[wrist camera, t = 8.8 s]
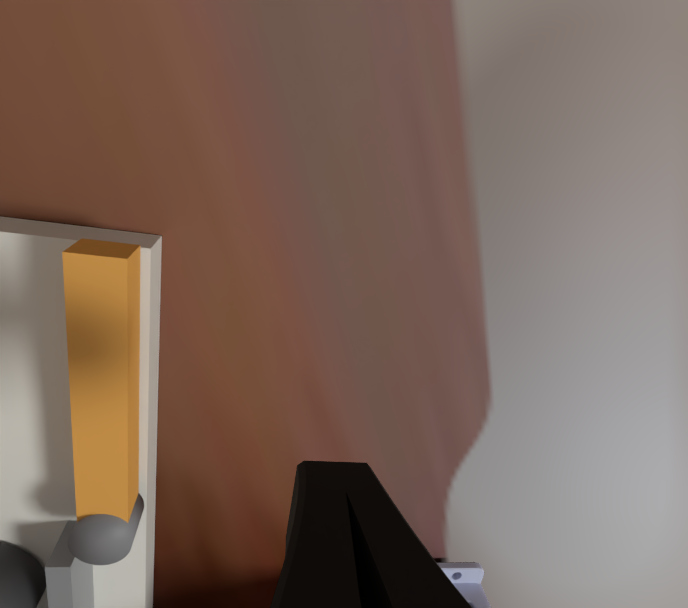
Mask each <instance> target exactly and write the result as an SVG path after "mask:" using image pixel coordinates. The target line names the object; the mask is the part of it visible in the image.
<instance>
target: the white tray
mask: <svg viewBox="0 0 688 608" xmlns="http://www.w3.org/2000/svg"><path fill="white" fill-rule="evenodd" d="M82 238H83V239H92V240H101V241H110V242H118V243H127V244H136V245H140V375H139V494H140V495H141V496H142V498H143V501H144V509H143V513H142V516H141V519H140V522H139V525H138V528H137V531H136V535H135V538H134V541H133V544H132V547H131V550H130V552H129V553H128V555H127V556H126V557H125V558H123V559H122V560H120V561H118V562H116V563H113V564H109V565H92V564H88V563H85V562H82V561H80V560H79V559H77V558H76V557H75V556H73V555H72V553H71V552H70V550H69V548H68V538H69V535H70V533H71V531H72V529H73V527H74V525H75V523H76V520H77V516H76V498H75V479H74V461H73V442H72V424H71V405H70V387H69V368H68V350H67V331H66V313H65V294H64V276H63V258H62V252H63V251H64V250H66V249H67V248H69V247H70V246H71V245H73V244H74V243H76V242H77V241H79V240H80V239H82ZM161 249H162V236H161V235H153V234H144V233H136V232H127V231H119V230H111V229H102V228H94V227H85V226H77V225H69V224H60V223H52V222H43V221H35V220H27V219H18V218H10V217H1V216H0V542H1V543H6V544H9V545H12V546H15V547H17V548H20V549H22V550H24V551H25V552H27V553H29V554H30V555H31V556H33V557H34V558H35V559H36V560H37V561H38V562H39V563H40V564H41V566H42V567H43V569H44V571H45V575H46V589H45V591H44V593H43V595H42V597H41V599H40V601H39V603H38V605H37V607H36V608H153V579H154V538H155V497H156V456H157V414H158V373H159V332H160V290H161Z"/></svg>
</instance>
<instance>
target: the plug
mask: <svg viewBox="0 0 688 608" xmlns="http://www.w3.org/2000/svg"><path fill="white" fill-rule="evenodd" d="M45 589H46V575H45V571H44V569H43V567H42V566H41V564H40V563H39V562H38V561H37V560H36V559H35V558H34V557H33V556H31V555H30V554H29V553H27V552H25V551H24V550H22V549H20V548H17V547H15V546H12V545H9V544H6V543H1V542H0V608H36V607H37V605H38V603H39V601H40V599H41V597H42V595H43V593H44V591H45Z"/></svg>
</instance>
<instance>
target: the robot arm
mask: <svg viewBox="0 0 688 608" xmlns="http://www.w3.org/2000/svg"><path fill="white" fill-rule="evenodd" d="M483 576H484V571H483V569H482V566H481V565H480V564H479V563H475V562H473V563H436V561H435V560H434V559H433V557H432V556H431V555H430V553H429V552H428V551H427V549H426V548H425V546H424V545H423V544H422V542H421V541H420V540H419V538H418V537H417V536H416V534H415V533H414V531H413V530H412V529H411V527H410V526H409V524H408V523H407V522H406V520H405V519H404V517H403V516H402V514H401V513H400V511H399V510H398V508H397V507H396V506H395V504H394V503H393V501H392V500H391V498H390V497H389V495H388V494H387V492H386V491H385V489H384V487H383V486H382V484H381V483H380V481H379V480H378V478H377V477H376V475H375V474H374V472H373V471H372V469H371V468H370V466H369V465H368V464H367V463H354V462H325V461H303V462H302V463H300V464H299V465H297V471H296V477H295V483H294V490H293V496H292V502H291V509H290V515H289V521H288V528H287V534H286V553H285V560H284V564H283V567H282V571H281V574H280V577H279V580H278V584H277V587H276V590H275V593H274V597H273V600H272V603H271V606H270V608H491V606H490V604H489V602H488V599H487V597H486V595H485V592H484V590H483V588H482V586H481V581H482V579H483Z"/></svg>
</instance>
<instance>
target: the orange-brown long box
mask: <svg viewBox="0 0 688 608" xmlns="http://www.w3.org/2000/svg"><path fill="white" fill-rule="evenodd" d="M62 258H63V276H64V294H65V313H66V331H67V350H68V368H69V387H70V405H71V424H72V442H73V461H74V479H75V498H76V516H77V520H76V523H75V525H74V527H73V529H72V531H71V533H70V535H69V538H68V548H69V550H70V552H71V553H72V555H73V556H75V557H76V558H77V559H79V560H80V561H82V562H85V563H88V564H92V565H109V564H113V563H116V562H118V561H120V560H122V559H123V558H125V557H126V556H127V555H128V553H129V552H130V550H131V547H132V544H133V541H134V538H135V535H136V531H137V528H138V525H139V522H140V519H141V516H142V513H143V509H144V501H143V498H142V496H141V495H140V494H139V375H140V245H136V244H127V243H118V242H110V241H101V240H92V239H83V238H82V239H80V240H79V241H77V242H76V243H74V244H73V245H71V246H70V247H69V248H67V249H66V250H64V251H63V252H62Z"/></svg>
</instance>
